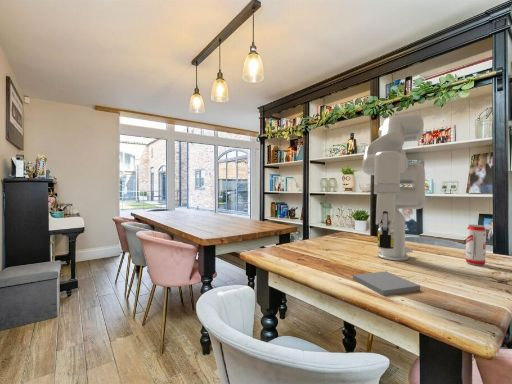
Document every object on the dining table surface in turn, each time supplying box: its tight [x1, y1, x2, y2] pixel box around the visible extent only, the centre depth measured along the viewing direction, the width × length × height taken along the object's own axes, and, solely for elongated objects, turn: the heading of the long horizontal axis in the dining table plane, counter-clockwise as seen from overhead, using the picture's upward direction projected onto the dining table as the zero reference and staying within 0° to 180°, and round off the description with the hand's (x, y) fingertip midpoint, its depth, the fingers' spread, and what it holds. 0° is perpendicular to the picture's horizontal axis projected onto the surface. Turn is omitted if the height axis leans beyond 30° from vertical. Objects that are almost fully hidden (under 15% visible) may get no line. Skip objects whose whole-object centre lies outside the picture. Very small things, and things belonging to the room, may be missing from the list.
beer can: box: [465, 224, 487, 267], centre depth 110 cm, size 6×6×16 cm
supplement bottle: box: [377, 222, 394, 250], centre depth 87 cm, size 5×5×8 cm
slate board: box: [352, 270, 421, 296], centre depth 88 cm, size 14×14×2 cm
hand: (385, 244), depth 87 cm, fingers closed on supplement bottle, 4 cm apart
